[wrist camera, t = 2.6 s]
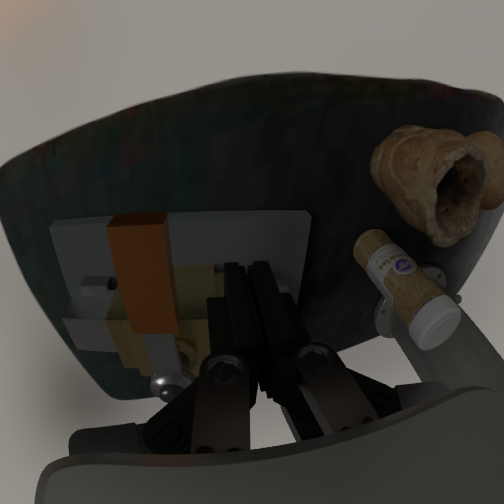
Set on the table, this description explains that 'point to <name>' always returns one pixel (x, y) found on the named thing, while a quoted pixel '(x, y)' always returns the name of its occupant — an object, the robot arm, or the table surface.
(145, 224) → the lever
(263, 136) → the table surface
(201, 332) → the valve
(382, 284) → the sprinkles bottle
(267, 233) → the valve board
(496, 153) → the pipe
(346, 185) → the table surface
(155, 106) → the table surface
